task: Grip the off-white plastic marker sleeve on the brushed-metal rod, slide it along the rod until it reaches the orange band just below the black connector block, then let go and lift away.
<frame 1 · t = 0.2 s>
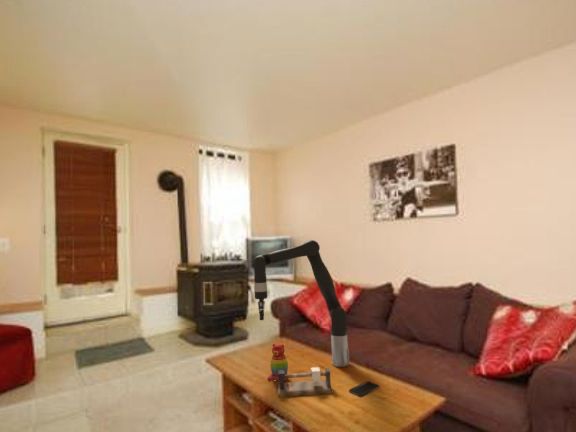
hand: (262, 318, 203), 29 cm above the table, fingers open, 8 cm apart
phone: (364, 390, 170), on the table
marker sleeve: (315, 374, 173), point 7 cm above the table, slide at 0.0 cm
stacking bear: (279, 378, 188), on the table
grey slider rail toy: (304, 389, 173), on the table
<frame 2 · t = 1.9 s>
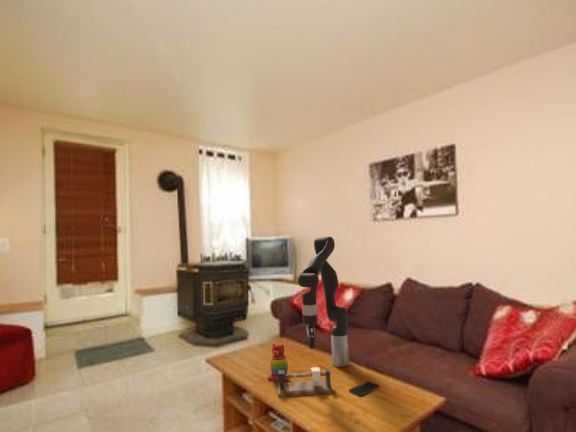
hand: (311, 345, 175), 21 cm above the table, fingers open, 8 cm apart
nothing on the table moved.
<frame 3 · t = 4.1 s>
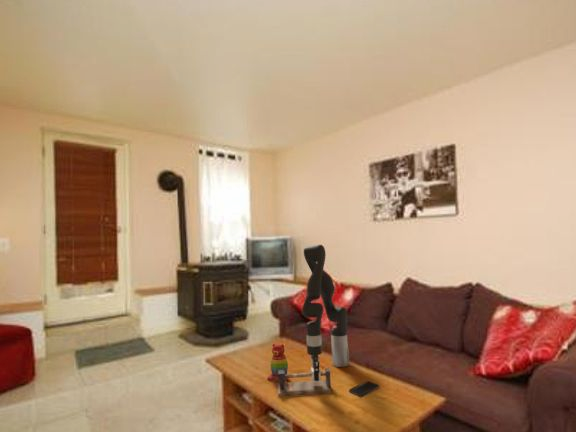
hand: (315, 378, 173), 5 cm above the table, fingers closed on marker sleeve, 5 cm apart
marker sleeve: (315, 374, 173), point 7 cm above the table, slide at 0.0 cm, touching gripper
everything else where it was.
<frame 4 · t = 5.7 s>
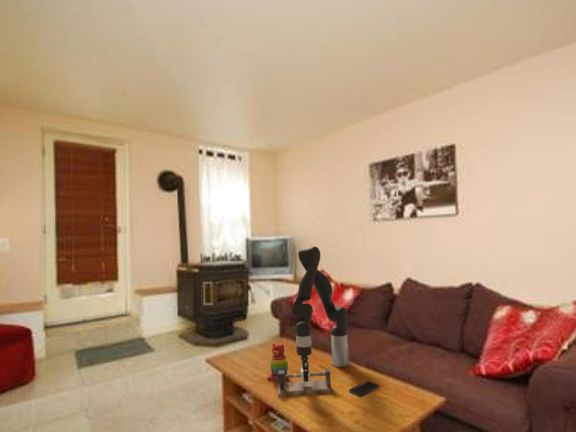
hand: (305, 378, 173), 5 cm above the table, fingers closed on marker sleeve, 5 cm apart
marker sleeve: (305, 375, 173), point 7 cm above the table, slide at 5.2 cm, touching gripper
everything else where it was.
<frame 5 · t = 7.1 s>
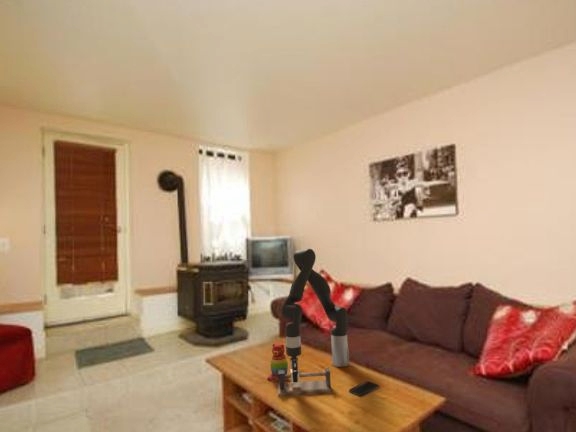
hand: (295, 379, 173), 5 cm above the table, fingers closed on marker sleeve, 5 cm apart
marker sleeve: (294, 375, 173), point 7 cm above the table, slide at 10.4 cm, touching gripper
everything else where it was.
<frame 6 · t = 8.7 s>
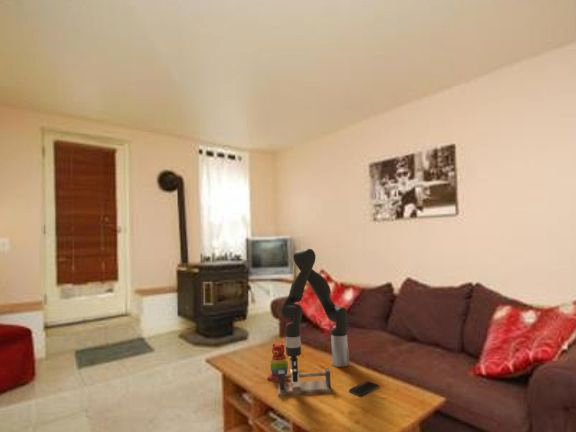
hand: (294, 378, 173), 6 cm above the table, fingers open, 8 cm apart
marker sleeve: (294, 375, 173), point 7 cm above the table, slide at 10.4 cm
everything else where it was.
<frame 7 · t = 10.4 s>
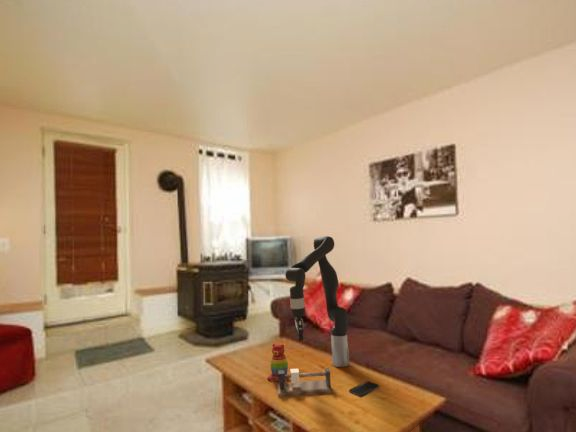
hand: (300, 337, 181), 23 cm above the table, fingers open, 8 cm apart
nothing on the table moved.
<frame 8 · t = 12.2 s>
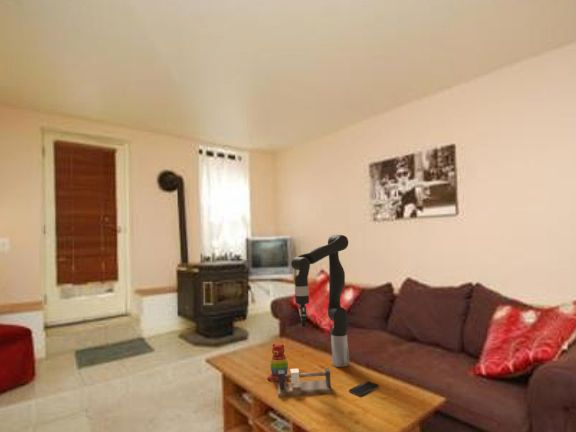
hand: (303, 324, 188), 28 cm above the table, fingers open, 8 cm apart
nothing on the table moved.
at the end: marker sleeve slide at 10.4 cm; the gripper is holding nothing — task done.
